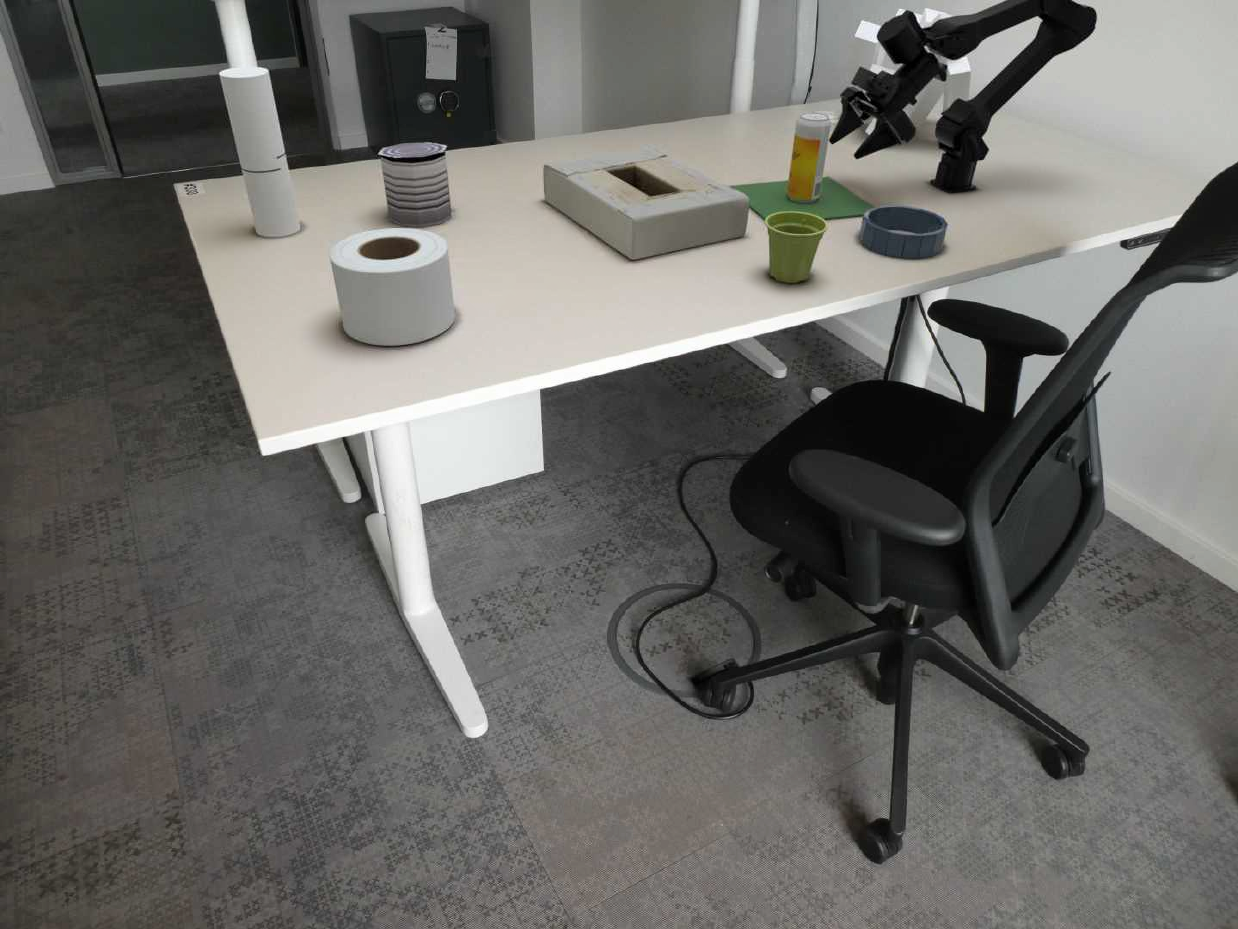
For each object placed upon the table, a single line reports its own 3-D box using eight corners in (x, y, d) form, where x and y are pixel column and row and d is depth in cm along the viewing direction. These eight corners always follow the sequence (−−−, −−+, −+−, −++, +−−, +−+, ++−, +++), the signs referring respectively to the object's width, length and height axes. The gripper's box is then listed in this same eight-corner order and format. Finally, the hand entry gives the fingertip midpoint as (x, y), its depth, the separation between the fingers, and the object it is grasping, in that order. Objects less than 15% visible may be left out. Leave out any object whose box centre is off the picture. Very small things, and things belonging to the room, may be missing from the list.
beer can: (795, 190, 169) (806, 108, 160) (824, 197, 166) (837, 114, 157) (780, 199, 165) (791, 116, 156) (810, 206, 162) (823, 122, 153)
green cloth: (827, 178, 176) (828, 176, 176) (880, 214, 160) (881, 211, 160) (726, 188, 170) (726, 185, 170) (771, 225, 155) (771, 223, 155)
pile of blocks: (798, 138, 216) (803, 9, 185) (889, 76, 220) (909, -60, 190) (901, 217, 200) (925, 91, 169) (997, 149, 205) (1037, 14, 174)
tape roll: (344, 300, 128) (330, 229, 122) (450, 292, 131) (443, 222, 125) (341, 352, 116) (327, 276, 110) (459, 341, 119) (451, 266, 113)
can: (386, 228, 150) (375, 157, 143) (389, 205, 159) (380, 137, 152) (453, 226, 152) (446, 155, 145) (453, 202, 161) (446, 135, 154)
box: (748, 236, 151) (647, 180, 173) (753, 192, 146) (648, 140, 168) (634, 265, 141) (542, 202, 163) (635, 219, 136) (540, 160, 158)
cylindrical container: (308, 224, 151) (278, 69, 136) (283, 239, 146) (248, 79, 131) (273, 219, 153) (239, 64, 138) (247, 233, 148) (208, 74, 133)
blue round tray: (909, 223, 157) (914, 201, 155) (958, 252, 147) (964, 229, 144) (844, 232, 153) (848, 210, 151) (889, 263, 143) (894, 239, 140)
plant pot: (818, 291, 134) (827, 236, 128) (756, 285, 135) (763, 230, 130) (819, 266, 141) (828, 214, 136) (760, 260, 142) (767, 208, 137)
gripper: (858, 39, 160) (795, 106, 164) (915, 61, 146) (845, 134, 150) (887, 82, 167) (826, 146, 171) (944, 107, 153) (877, 176, 157)
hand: (842, 149), depth 162 cm, fingers open, 9 cm apart
